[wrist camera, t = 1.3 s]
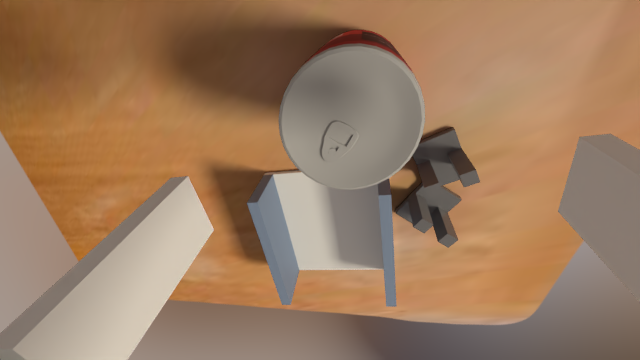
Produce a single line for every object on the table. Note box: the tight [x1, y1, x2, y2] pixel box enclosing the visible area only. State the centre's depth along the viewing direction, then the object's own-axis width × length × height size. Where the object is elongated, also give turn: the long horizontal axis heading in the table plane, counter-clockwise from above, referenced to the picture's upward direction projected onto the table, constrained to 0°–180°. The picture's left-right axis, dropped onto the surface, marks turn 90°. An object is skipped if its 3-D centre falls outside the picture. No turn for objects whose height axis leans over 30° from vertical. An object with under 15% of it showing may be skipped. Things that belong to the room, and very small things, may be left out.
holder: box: [247, 170, 396, 306], centre depth 30 cm, size 14×12×6 cm
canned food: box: [279, 30, 425, 190], centre depth 20 cm, size 8×8×11 cm
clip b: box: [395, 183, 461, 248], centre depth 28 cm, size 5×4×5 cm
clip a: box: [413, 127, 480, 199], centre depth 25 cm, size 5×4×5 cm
